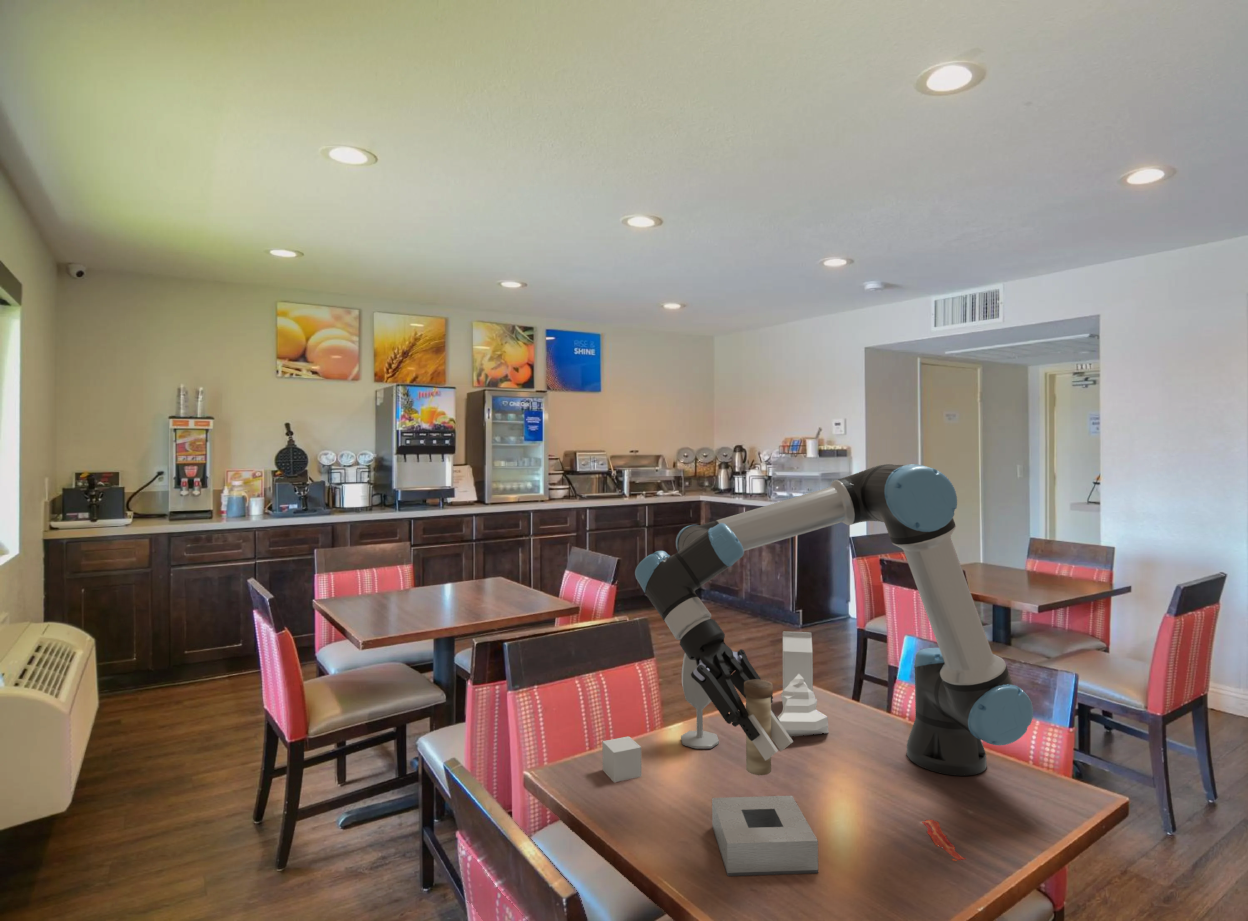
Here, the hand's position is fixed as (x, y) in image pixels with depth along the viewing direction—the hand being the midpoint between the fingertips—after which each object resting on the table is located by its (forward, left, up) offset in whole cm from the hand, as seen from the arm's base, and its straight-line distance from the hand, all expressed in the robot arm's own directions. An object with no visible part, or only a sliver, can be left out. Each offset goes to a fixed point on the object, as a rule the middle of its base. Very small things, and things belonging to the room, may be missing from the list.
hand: (779, 750), depth 109 cm
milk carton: (-22, -65, -17) cm, 70 cm away
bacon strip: (-28, -5, -18) cm, 34 cm away
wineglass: (+6, -45, -17) cm, 48 cm away
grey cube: (+24, -31, -17) cm, 43 cm away
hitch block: (+2, -3, -17) cm, 17 cm away
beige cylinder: (+3, -3, -4) cm, 6 cm away
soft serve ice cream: (-17, -48, -17) cm, 53 cm away
